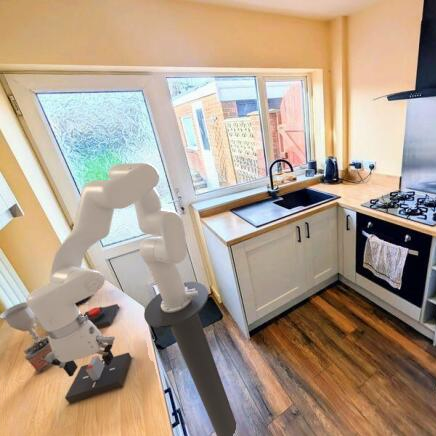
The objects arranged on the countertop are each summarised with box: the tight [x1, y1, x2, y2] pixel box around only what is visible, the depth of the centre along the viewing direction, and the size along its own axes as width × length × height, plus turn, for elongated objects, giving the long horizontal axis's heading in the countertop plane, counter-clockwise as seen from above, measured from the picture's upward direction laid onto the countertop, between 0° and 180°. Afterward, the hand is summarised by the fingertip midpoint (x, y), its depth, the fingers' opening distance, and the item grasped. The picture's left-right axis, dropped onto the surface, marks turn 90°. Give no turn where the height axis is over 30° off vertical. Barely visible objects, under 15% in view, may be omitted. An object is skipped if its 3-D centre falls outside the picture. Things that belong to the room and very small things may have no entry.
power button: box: [87, 306, 101, 317], centre depth 99 cm, size 4×4×2 cm
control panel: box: [64, 352, 133, 405], centre depth 77 cm, size 14×10×3 cm
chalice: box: [0, 301, 43, 344], centre depth 89 cm, size 7×7×18 cm
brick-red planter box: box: [23, 335, 54, 374], centre depth 83 cm, size 8×3×10 cm, turn 159°
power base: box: [83, 303, 120, 330], centre depth 100 cm, size 12×10×4 cm
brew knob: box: [86, 355, 104, 381], centre depth 75 cm, size 4×2×5 cm, turn 16°
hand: (92, 366), depth 74 cm, fingers open, 9 cm apart
